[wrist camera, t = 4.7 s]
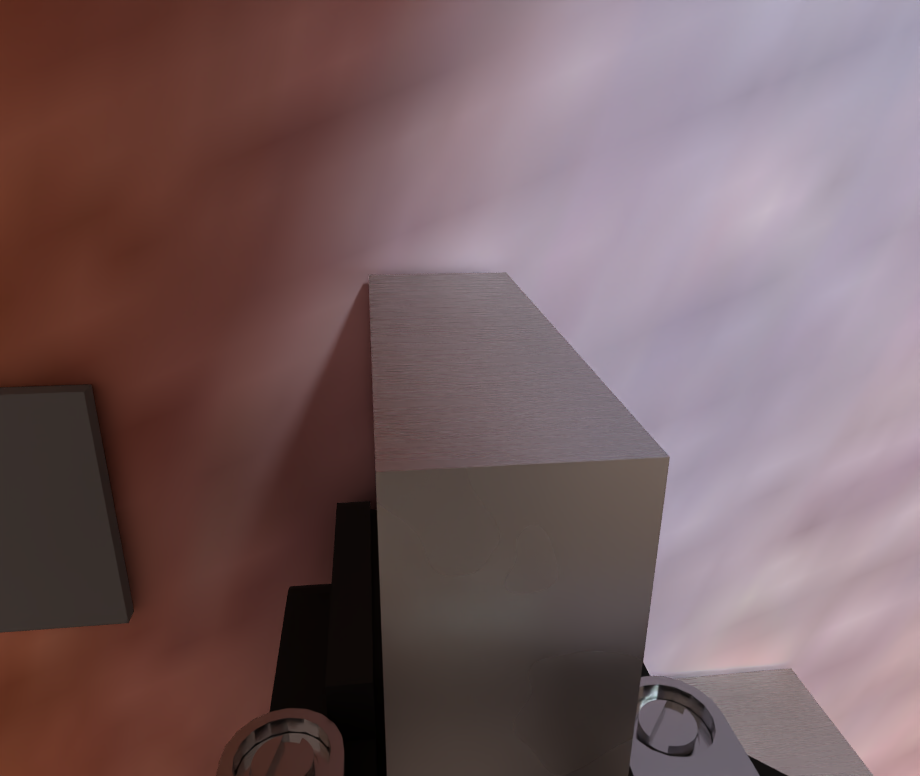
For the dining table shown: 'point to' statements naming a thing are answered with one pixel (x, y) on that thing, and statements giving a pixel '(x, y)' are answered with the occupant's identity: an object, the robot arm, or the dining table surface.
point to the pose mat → (57, 514)
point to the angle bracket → (527, 551)
